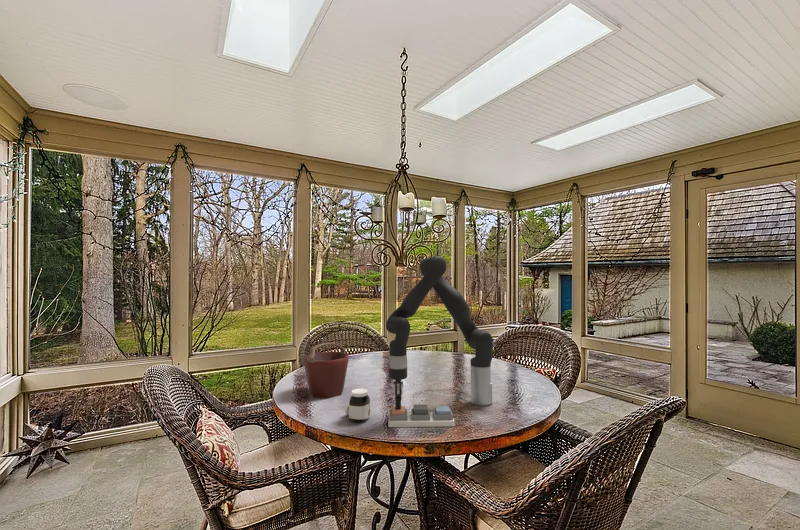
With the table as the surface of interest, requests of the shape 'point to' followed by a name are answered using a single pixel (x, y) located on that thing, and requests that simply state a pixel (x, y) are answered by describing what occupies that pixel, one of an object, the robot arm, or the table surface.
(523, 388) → the table surface
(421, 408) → the charcoal key
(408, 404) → the table surface
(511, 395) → the table surface
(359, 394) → the spread jar
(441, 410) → the slate key
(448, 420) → the key panel
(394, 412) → the terracotta key
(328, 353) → the bucket
